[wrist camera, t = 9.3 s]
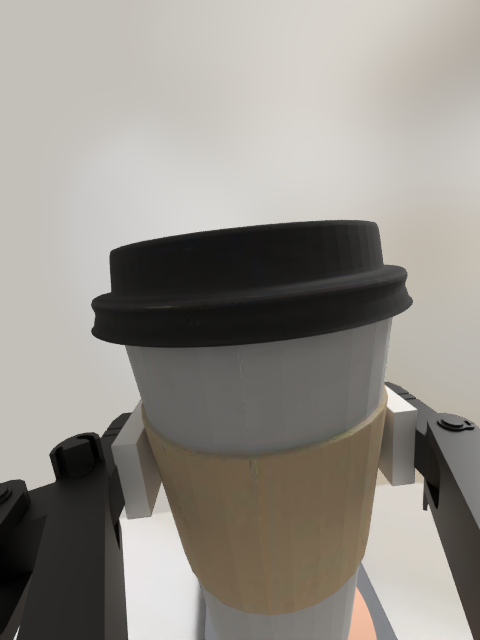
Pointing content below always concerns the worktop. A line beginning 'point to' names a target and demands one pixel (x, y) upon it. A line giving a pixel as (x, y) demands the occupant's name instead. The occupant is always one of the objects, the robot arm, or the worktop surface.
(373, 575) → the worktop surface
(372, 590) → the mat
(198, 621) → the worktop surface
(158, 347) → the coffee cup
